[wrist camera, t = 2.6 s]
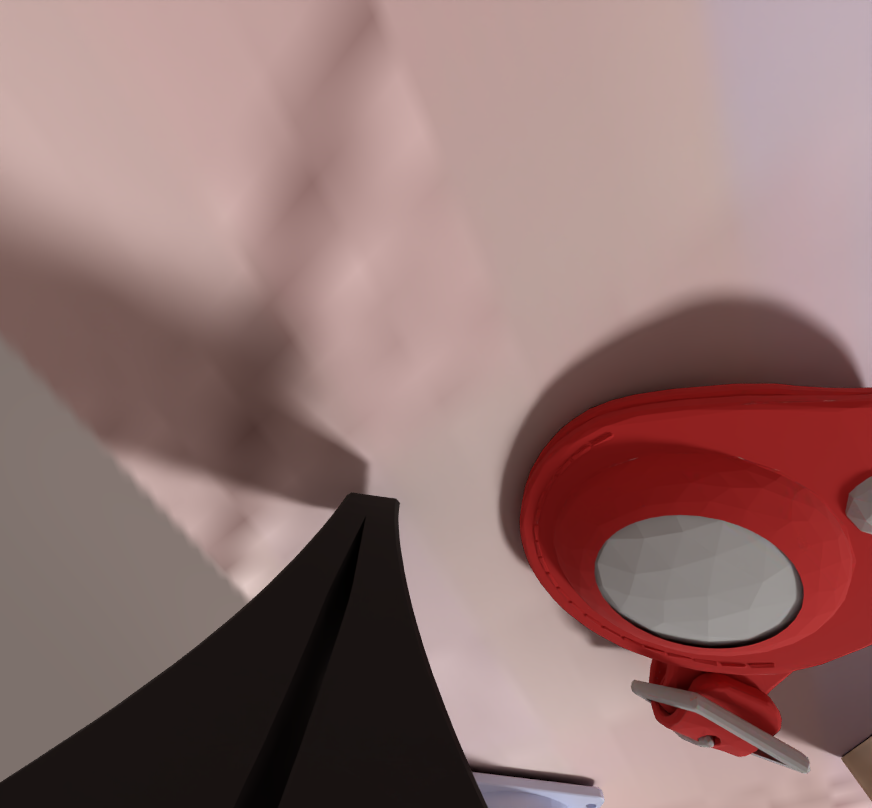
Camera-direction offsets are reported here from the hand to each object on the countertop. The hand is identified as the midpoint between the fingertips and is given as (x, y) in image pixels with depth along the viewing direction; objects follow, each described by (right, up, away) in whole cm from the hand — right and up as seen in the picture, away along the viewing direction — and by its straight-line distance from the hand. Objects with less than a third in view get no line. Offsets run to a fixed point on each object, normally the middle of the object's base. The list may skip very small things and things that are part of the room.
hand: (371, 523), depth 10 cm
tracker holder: (+9, -1, +2) cm, 9 cm away
